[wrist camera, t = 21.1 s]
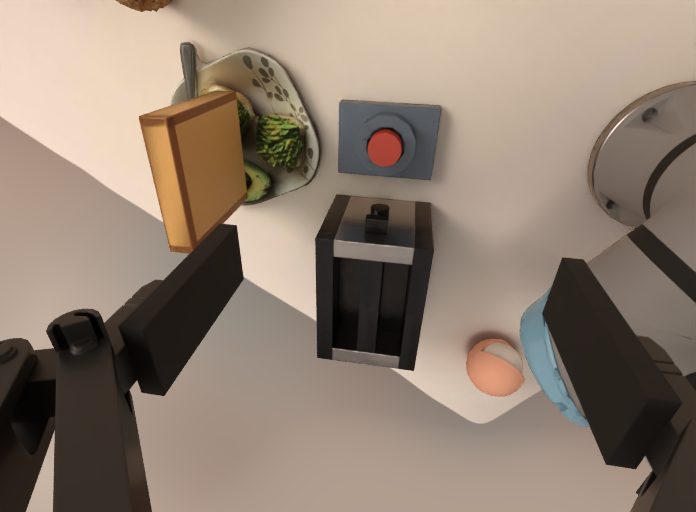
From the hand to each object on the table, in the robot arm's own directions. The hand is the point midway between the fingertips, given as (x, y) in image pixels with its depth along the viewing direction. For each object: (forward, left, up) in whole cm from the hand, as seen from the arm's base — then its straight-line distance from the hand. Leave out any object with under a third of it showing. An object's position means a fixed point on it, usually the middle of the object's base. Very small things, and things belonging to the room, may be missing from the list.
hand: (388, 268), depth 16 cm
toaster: (+2, +19, -33) cm, 38 cm away
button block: (+2, +3, -33) cm, 33 cm away
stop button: (+2, +3, -30) cm, 30 cm away
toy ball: (-16, +33, -33) cm, 49 cm away
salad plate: (+19, +4, -33) cm, 38 cm away
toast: (+19, +4, -28) cm, 34 cm away
